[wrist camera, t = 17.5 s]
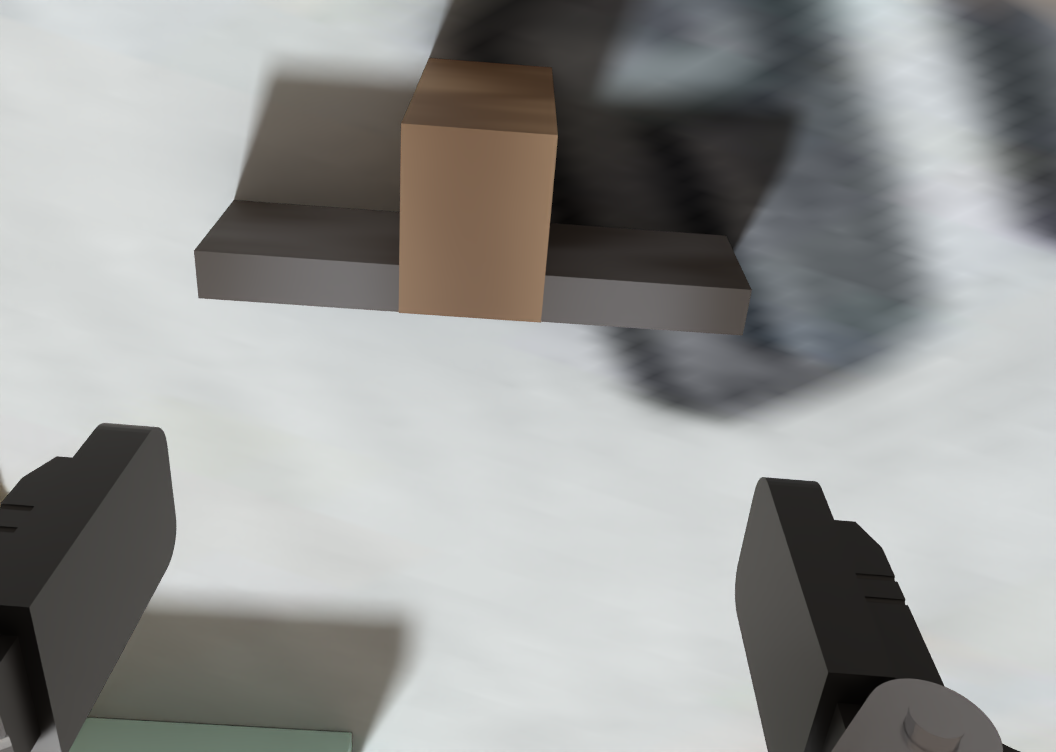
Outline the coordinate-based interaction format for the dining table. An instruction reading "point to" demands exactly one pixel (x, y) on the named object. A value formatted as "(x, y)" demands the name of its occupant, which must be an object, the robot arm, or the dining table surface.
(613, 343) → the dining table surface
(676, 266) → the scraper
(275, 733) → the stop rail
